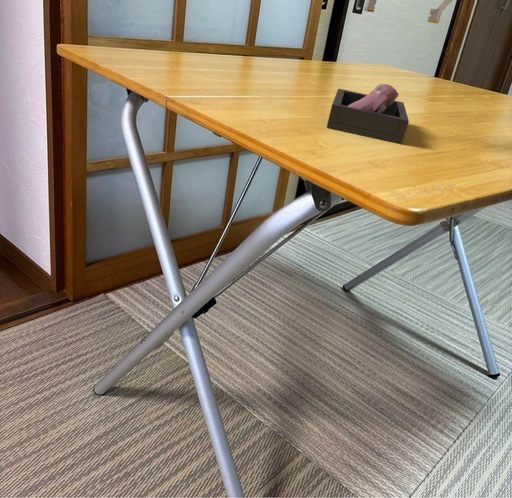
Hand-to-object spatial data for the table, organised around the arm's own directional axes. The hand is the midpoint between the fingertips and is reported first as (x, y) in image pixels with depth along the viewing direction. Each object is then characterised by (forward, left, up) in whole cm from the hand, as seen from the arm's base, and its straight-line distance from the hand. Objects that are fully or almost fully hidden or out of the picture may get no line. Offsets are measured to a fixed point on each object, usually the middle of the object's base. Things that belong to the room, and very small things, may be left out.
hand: (400, 17), depth 76 cm
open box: (+1, 0, -16) cm, 16 cm away
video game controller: (+1, 0, -16) cm, 16 cm away
